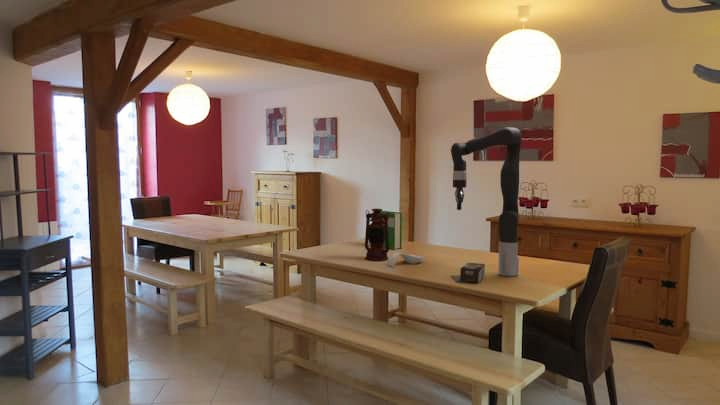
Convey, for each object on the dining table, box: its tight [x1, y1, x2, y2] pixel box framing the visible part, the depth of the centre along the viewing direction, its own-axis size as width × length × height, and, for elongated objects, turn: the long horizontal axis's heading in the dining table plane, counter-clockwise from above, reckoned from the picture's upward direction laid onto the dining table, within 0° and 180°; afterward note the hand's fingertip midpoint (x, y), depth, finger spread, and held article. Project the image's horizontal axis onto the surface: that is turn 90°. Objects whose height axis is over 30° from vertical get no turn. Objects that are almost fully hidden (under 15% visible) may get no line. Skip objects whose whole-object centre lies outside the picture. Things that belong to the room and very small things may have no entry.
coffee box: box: [459, 261, 486, 283], centre depth 247 cm, size 9×6×16 cm
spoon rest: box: [388, 252, 425, 268], centre depth 283 cm, size 24×12×7 cm, turn 132°
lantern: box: [364, 208, 390, 262], centre depth 295 cm, size 17×14×30 cm
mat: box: [450, 274, 482, 283], centre depth 248 cm, size 12×12×1 cm
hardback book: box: [380, 210, 403, 251], centre depth 332 cm, size 18×7×24 cm, turn 44°
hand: (459, 209), depth 279 cm, fingers closed
